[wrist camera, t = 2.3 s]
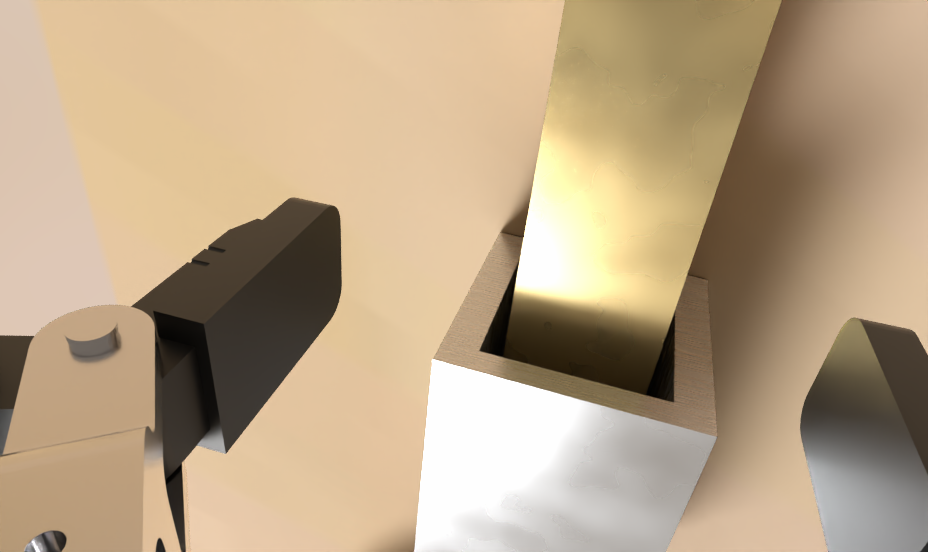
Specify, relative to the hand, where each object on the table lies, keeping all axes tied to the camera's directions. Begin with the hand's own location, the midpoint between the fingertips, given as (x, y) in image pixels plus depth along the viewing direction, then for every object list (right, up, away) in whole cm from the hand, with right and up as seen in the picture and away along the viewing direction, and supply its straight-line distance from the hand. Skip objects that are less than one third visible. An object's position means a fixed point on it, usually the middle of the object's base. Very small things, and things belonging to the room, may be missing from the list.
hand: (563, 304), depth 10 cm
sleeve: (+2, -5, +15) cm, 16 cm away
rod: (+3, +1, +10) cm, 10 cm away
